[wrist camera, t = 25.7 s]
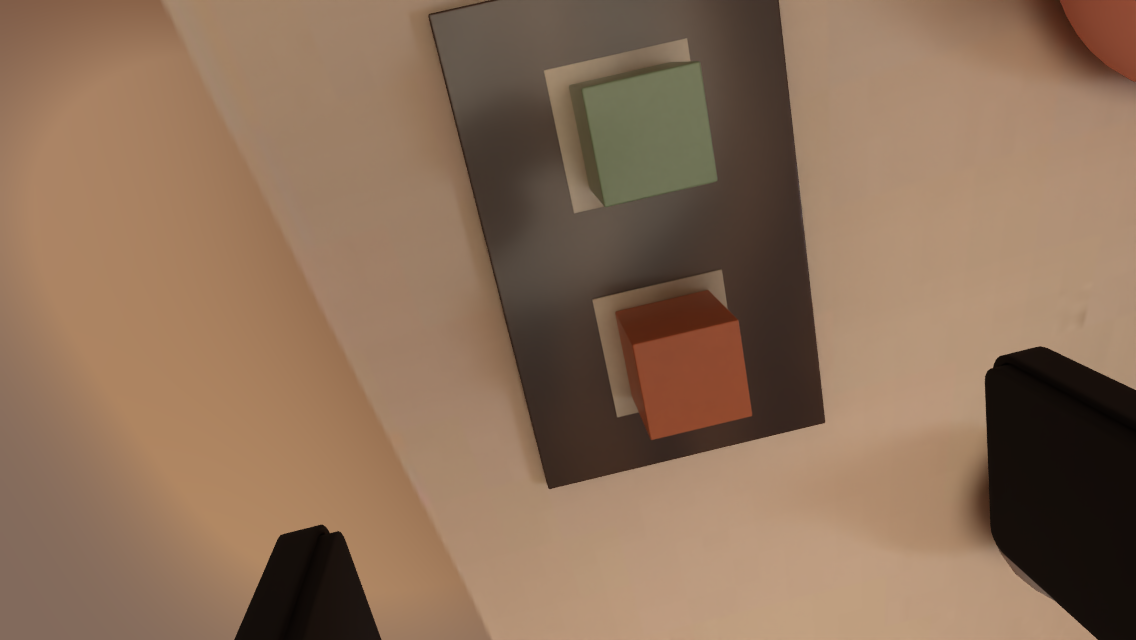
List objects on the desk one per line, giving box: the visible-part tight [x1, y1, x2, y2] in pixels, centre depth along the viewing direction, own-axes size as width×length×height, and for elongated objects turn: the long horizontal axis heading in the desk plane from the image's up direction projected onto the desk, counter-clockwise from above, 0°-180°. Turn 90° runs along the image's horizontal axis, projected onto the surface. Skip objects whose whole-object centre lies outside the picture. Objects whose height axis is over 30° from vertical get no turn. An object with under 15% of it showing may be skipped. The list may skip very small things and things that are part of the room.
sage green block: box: [569, 61, 717, 207], centre depth 30 cm, size 4×4×4 cm
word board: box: [428, 0, 825, 489], centre depth 34 cm, size 14×22×1 cm, turn 12°
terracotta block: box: [615, 290, 752, 440], centre depth 33 cm, size 4×4×4 cm
